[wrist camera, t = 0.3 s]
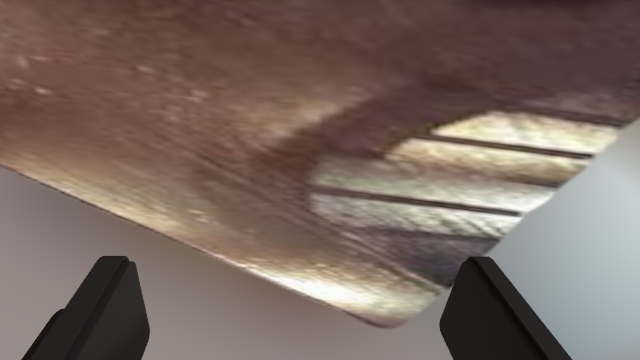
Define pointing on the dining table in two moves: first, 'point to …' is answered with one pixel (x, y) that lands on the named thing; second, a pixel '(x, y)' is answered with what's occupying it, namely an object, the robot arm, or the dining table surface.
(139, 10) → the dining table surface
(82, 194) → the dining table surface
